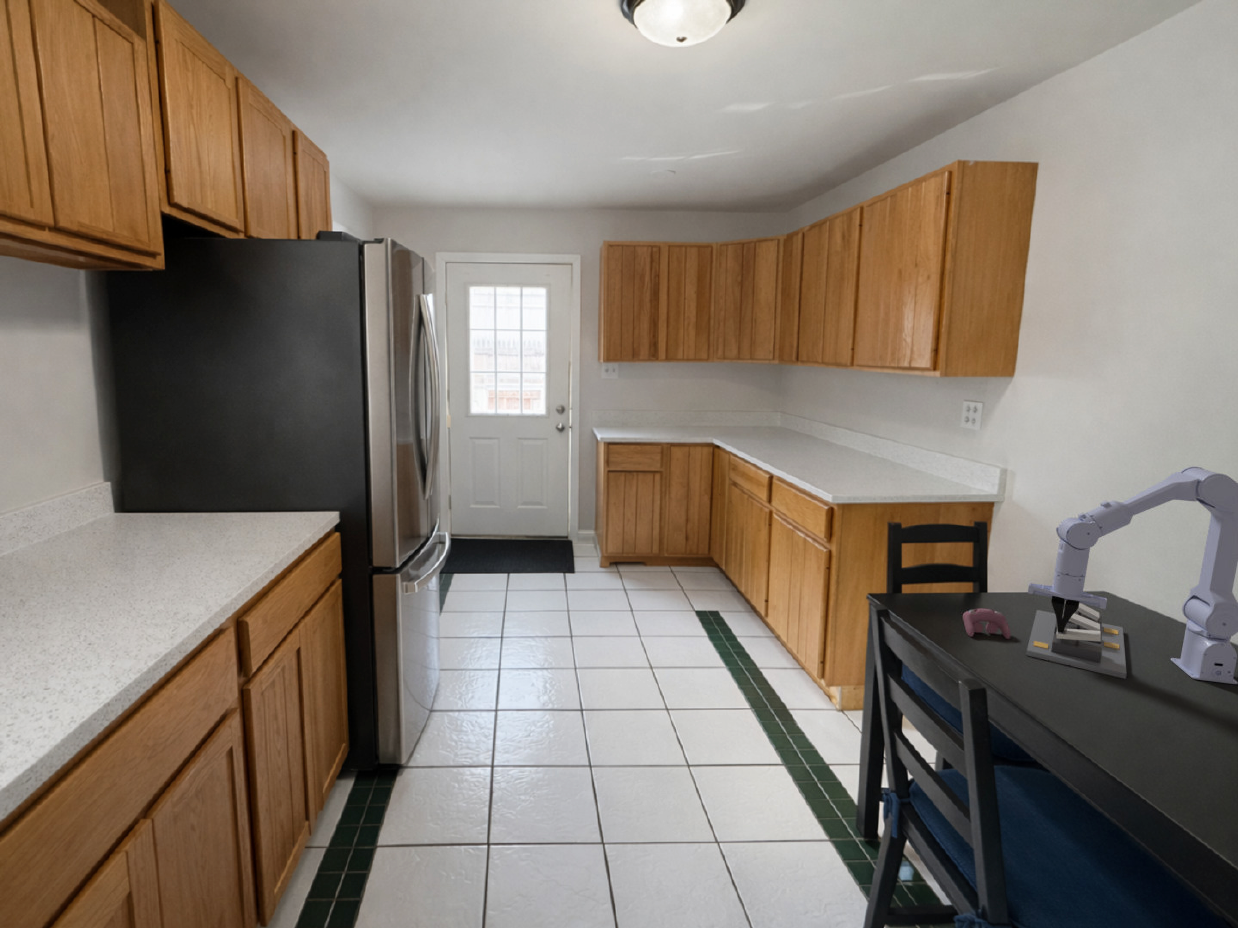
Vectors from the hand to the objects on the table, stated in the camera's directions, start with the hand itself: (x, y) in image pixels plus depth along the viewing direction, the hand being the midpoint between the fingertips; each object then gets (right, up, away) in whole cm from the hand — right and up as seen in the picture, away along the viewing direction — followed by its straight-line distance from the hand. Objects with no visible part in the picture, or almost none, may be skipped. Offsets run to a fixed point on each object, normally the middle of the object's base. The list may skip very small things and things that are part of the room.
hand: (1060, 630), depth 153 cm
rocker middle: (+8, +1, +6) cm, 11 cm away
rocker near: (+3, 0, -2) cm, 3 cm away
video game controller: (-11, -4, +11) cm, 16 cm away
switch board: (+8, -5, +7) cm, 12 cm away
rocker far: (+14, +2, +14) cm, 20 cm away
